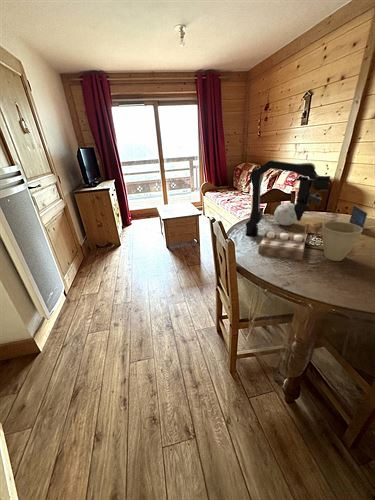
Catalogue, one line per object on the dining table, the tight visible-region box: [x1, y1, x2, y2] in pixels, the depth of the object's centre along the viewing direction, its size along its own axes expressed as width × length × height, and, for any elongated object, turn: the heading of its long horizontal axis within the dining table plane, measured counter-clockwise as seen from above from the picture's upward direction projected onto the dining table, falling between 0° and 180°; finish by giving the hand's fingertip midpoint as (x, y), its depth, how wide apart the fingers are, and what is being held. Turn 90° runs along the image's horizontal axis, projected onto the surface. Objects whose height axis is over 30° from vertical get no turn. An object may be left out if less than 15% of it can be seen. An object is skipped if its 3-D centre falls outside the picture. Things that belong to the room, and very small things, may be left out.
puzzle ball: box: [274, 202, 298, 227], centre depth 145 cm, size 15×15×15 cm
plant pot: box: [322, 221, 363, 262], centre depth 101 cm, size 15×15×16 cm
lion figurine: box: [300, 221, 326, 237], centre depth 129 cm, size 15×5×9 cm, turn 34°
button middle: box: [280, 232, 289, 240], centre depth 118 cm, size 4×4×4 cm
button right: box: [293, 234, 303, 242], centre depth 115 cm, size 4×4×4 cm
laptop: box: [348, 204, 368, 234], centre depth 132 cm, size 18×12×13 cm
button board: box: [257, 230, 307, 261], centre depth 117 cm, size 21×22×5 cm
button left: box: [266, 231, 276, 239], centre depth 122 cm, size 4×4×4 cm
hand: (299, 218), depth 118 cm, fingers open, 9 cm apart
